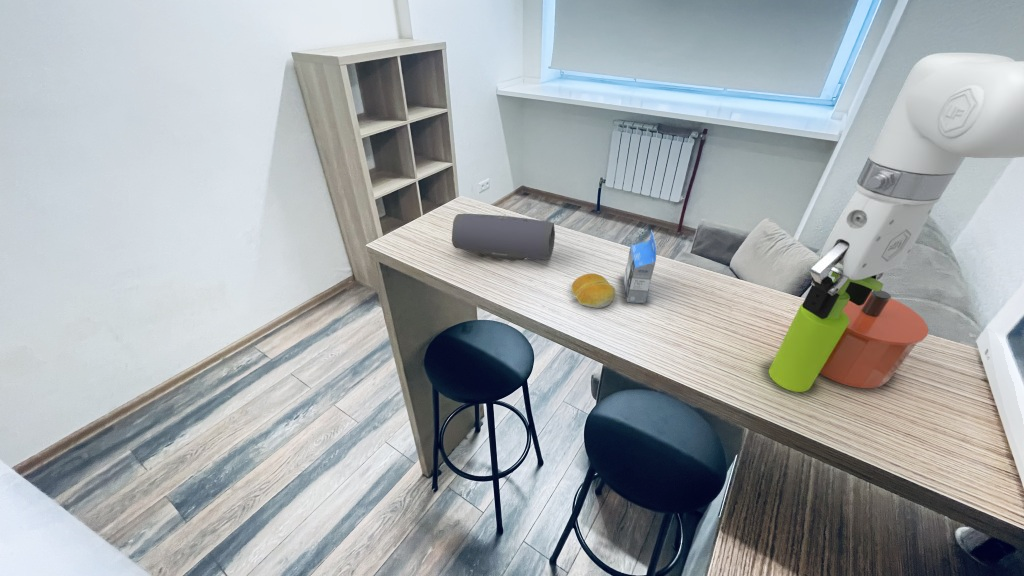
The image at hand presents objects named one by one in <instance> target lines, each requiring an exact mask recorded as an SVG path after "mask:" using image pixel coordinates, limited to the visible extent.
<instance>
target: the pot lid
mask: <svg viewBox="0 0 1024 576" xmlns="http://www.w3.org/2000/svg"><path fill="white" fill-rule="evenodd" d="M843 312H844V313H845V314H846V315H847V316H848V318H849V324H848V326H847V327H846V329H845V330H846V331H849V332H851V333H853V334H855V335H858V336H860V337H863V338H866V339H869V340H872V341H876V342H880V343H885V344H892V345H912V344H916V343H917V344H919V343H921V342H923V341H924V340H925V339H926V338H927V337H928V334H929V326H928V325H927V323H926V321H925V320H924V318H923V317H922V316H921V315H920V314H918V313H917V312H916V311H915V310H913V309H912V308H911V307H909V306H908V305H906V304H903V303H902V302H900V301H898V300H896V299H893V298H892V295H891V294H890V293H889V292H887V291H885V290H883V289H882V290H880V291H874V290H872V292H871V293H870V295H869V297H868V298H867V300H866V302H865V303H864V304H863V305H860V306H858V305H856V304H855V303H853V302H851V301H848V303H847V305H846V306H845V308H844V310H843ZM917 344H916V345H917Z"/></svg>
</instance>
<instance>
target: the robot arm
mask: <svg viewBox="0 0 1024 576" xmlns="http://www.w3.org/2000/svg"><path fill="white" fill-rule="evenodd" d="M966 158H973V159H1015V158H1016V159H1017V158H1024V60H1019V61H1018V60H1017V61H1016V60H1014V58H1012V57H1009V56H1005V55H1001V54H995V53H982V52H981V53H980V52H959V51H958V52H955V51H954V52H939V53H932V54H928V55H926V56H924V57H923V58H921V59H919V60H918V61H917V62H916V63H915V64H914V65H913V67H912V68H911V69H910V71H909V73H908V75H907V77H906V79H905V81H904V83H903V85H902V87H901V89H900V91H899V93H898V95H897V97H896V100H895V101H894V104H893V105H892V107H891V109H890V112H889V113H888V116H887V118H886V120H885V122H884V124H883V126H882V128H881V131H880V132H879V135H878V137H877V138H876V141H875V143H874V145H873V147H872V148H871V151H870V153H869V155H868V158H867V159H866V162H865V164H864V166H863V168H862V169H861V172H860V174H859V176H858V178H857V180H856V182H855V183H854V187H855V189H856V191H854V194H852V196H851V198H850V199H849V201H848V202H847V204H846V205H845V207H844V208H843V211H842V212H841V214H840V216H839V217H838V219H837V220H836V222H835V224H834V226H833V228H832V229H831V231H830V233H829V235H828V237H827V239H826V241H825V243H824V244H823V247H822V250H821V252H820V255H819V258H818V261H817V262H816V263H814V265H813V266H812V267H811V268H810V269H809V273H810V275H811V282H810V284H811V286H810V288H809V290H808V292H807V294H806V297H805V298H804V300H803V302H802V303H803V304H802V303H801V304H802V306H803V308H804V309H806V310H808V311H809V312H811V313H813V314H814V315H816V316H818V317H819V318H821V319H825V318H827V317H828V315H829V314H830V312H831V310H832V308H833V306H834V304H835V303H836V301H837V299H838V297H839V294H837V292H838V291H839V289H840V288H841V287H842V286H843V285H844V283H845V282H846V281H847V280H848V278H849V279H851V280H860V279H864V278H868V277H871V278H874V279H876V280H878V281H879V280H880V279H881V278H882V277H883V275H884V273H886V272H888V271H891V270H894V269H896V268H898V267H900V266H901V265H902V264H903V263H904V262H905V261H906V259H907V257H908V256H909V254H910V252H911V251H912V249H913V247H914V245H915V244H916V242H917V240H918V238H919V236H920V235H921V232H922V231H923V229H924V227H925V225H926V224H927V221H928V219H929V217H930V215H931V213H932V210H933V208H934V206H935V205H936V203H938V202H939V201H940V199H941V197H942V195H943V194H944V193H945V191H946V189H947V187H948V186H949V184H950V183H951V181H952V179H953V178H954V176H955V175H956V173H957V172H958V170H959V168H960V167H961V165H962V164H963V162H964V160H965V159H966ZM838 264H840V265H842V269H843V270H841V269H839V268H840V267H837V265H838ZM830 272H835V273H837V274H839V275H840V276H839V277H838V278H837V280H836V281H835V282H834V283H833V281H834V280H833V279H832V278H833V277H831V276H830ZM872 291H873V290H872V289H870V288H868V287H866V286H863V285H860V284H857V283H854V282H850V284H849V285H848V287H847V289H846V291H845V292H846V293H848V294H849V296H850V299H849V301H851V302H853V303H855V304H856V305H858V306H860V305H863V304H864V303H865V302H866V300H867V298H868V297H869V295H870V293H871V292H872Z"/></svg>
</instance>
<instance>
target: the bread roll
mask: <svg viewBox="0 0 1024 576" xmlns="http://www.w3.org/2000/svg"><path fill="white" fill-rule="evenodd" d="M571 292H572V294H573V296H575V298H576V299H577V302H578V303H579V304H580V305H582V306H585V307H589V308H596V309H602V308H604V307H607V306H609V305H611V304H612V302H614V299H615V296H616V291H615V288H614V286H613V285H611V284H610V282H609V281H608V279H606V278H605V277H604V276H602V275H601V274H597V273H586V274H582V275H580V276H578V277H577V278H576V279H575V280H574V281H573V282H572V284H571Z"/></svg>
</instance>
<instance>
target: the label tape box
mask: <svg viewBox="0 0 1024 576" xmlns="http://www.w3.org/2000/svg"><path fill="white" fill-rule="evenodd" d="M657 251H658V250H657V243H656V239H655V236H654V233H653V229H650V235H649V240H646V241H643V242H639V243H636V244H631V245H630V247H629V252H628V255H627V256H628V257H627V261H626V267H625V270H624V275H623V285H624V289H625V290H624V291H625V298H626V302H627V303H632V304H646V301H647V297H648V293H649V289H650V286H651V281H652V278H653V273H654V269H655V266H656V262H657Z"/></svg>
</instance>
